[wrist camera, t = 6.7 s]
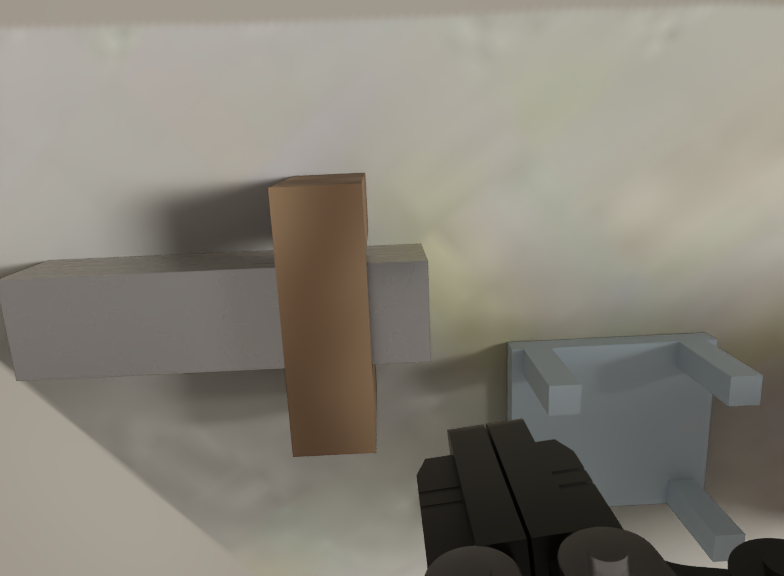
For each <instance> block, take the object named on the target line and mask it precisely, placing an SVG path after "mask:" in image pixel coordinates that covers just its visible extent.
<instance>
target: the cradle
mask: <svg viewBox="0 0 784 576" xmlns="http://www.w3.org/2000/svg"><path fill="white" fill-rule="evenodd" d="M717 343H718V340H717V339H716V338H714V337H712V336H711V335H709V334H707V333H686V334H666V335H646V336H625V337H605V338H585V339H564V340H544V341H524V342H508V354H507V421H508V420H515V419H521V418H522V419H523V420H524V421H525V423H526V425H527V427H528V429H529V431H530V433H531V435H532V437H533V439H534V440H535V442H539V441H545V440H552V439H555V440H557V441H558V442H560V443H562V444H563V445H565V446H567V447H568V448H570V449H571V450H573V451H574V452H575V454H576V455H577V457H578V458H579V460H580V462H581V463H582V465H583V466H584V470H586V471H587V473H588V474H589V476H590V477H591V479H592V481H593V484H595V485H596V487H597V488H598V490H599V492H600V493H601V495H602V496H603V498H604V499H605V501H606V503H607V504H608V506H627V505H646V504H665V503H667V504H668V506H669V507H670V508H671V509H672V511H673V512H674V513H675V514H676V516H677V517H678V518H679V519H680V521H681V522H682V523H683V524H684V526H685V527H686V528H687V530H688V531H689V532H690V533H691V535H692V536H693V537H694V538H695V540H696V541H697V542H698V543H699V545H700V546H701V547H702V549H703V550H704V551H705V552H706V554H707V555H708V556H709V557H710V559H711V560H712V561H713V562H717V561H728V558H729V555H730V553H731V552H732V550H733V549H734V548H735V547H736V546H738V545H740V544H742V543H744V542H745V533H744V532H743V531H742V530H741V529H740V528H739V527H738V526H737V525H736V524H735V523H734V522H733V520H732V519H731V518H730V517H729V516H728V515H727V514H726V513H725V512H724V511H723V510H722V509H721V508H720V506H719V505H718V504H717V503H716V502H715V501H714V500H713V499H712V498H711V497H710V496H709V495H708V494H707V492H706V491H705V490H704V484H705V473H706V462H707V451H708V440H709V429H710V419H711V408H712V397H713V395H714V396H715V397H716V398H718V399H719V400H720V401H722V402H723V403H724V404H725V405H727V406H728V407H732V406H751V405H760V400H761V391H762V382H763V375H762V374H760V373H759V372H757V371H755V370H754V369H752V368H751V367H749V366H747V365H746V364H744V363H742V362H741V361H739V360H738V359H736V358H734V357H733V356H731V355H729V354H728V353H726V352H725V351H723V350H721V349H720V348H718V347H717Z"/></svg>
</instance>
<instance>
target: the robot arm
mask: <svg viewBox="0 0 784 576" xmlns="http://www.w3.org/2000/svg"><path fill="white" fill-rule="evenodd" d="M447 432H448V441H449V448H450V455H449V456H442V457H435V458H429V459H425V461H424V463H423V464H422V466H421V468H420V470H419V472H418V474H417V483H418V491H419V500H420V507H421V516H422V524H423V533H424V541H425V549H426V557H427V571H426V574H425V576H784V539H776V538H762V539H754V540H749V541H747V542H744V543H742V544H740V545H738V546H736V547H735V548H734V549H733V550H732V552H731V553H730V555H729V558H728V569H719V568H707V567H696V566H687V565H680V564H676V563H671V562H668V561H665V560H664V559H663V558H662V556H661V555H660V554H659V553H658V551H657V550H656V549H655V548H654V547H653V546H652V545H651V544H650V543H649V542H648V541H646V540H645V539H644V538H642V537H640V536H639V535H637V534H634V533H632V532H630V531H626V530H624V529H623V528H622V526H621V525H620V523H619V522H618V520H617V518H616V517H615V515H614V514H613V512H612V511H611V509H610V507H609V506H608V504H607V503H606V501H605V499H604V498H603V496H602V495H601V493H600V492H599V490H598V488H597V487H596V485H595V484H593V481H592V479H591V477H590V476H589V474H588V473H587V471H586V470H584V466H583V465H582V463H581V462H580V460H579V458H578V457H577V455H576V454H575V452H574V451H573V450H571V449H570V448H568V447H567V446H565V445H563V444H562V443H560V442H558V441H557V440H555V439H552V440H545V441H539V442H535V440H534V439H533V437H532V435H531V433H530V431H529V429H528V427H527V425H526V423H525V421H524V420H523V419H522V418H521V419H515V420H508V421H502V422H495V423H489V424H486V429H485V427H484V425H476V426H470V427H463V428H457V429H450V430H447Z"/></svg>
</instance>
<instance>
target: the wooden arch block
mask: <svg viewBox="0 0 784 576" xmlns="http://www.w3.org/2000/svg"><path fill="white" fill-rule="evenodd" d="M268 194H269V205H270V215H271V226H272V237H273V248H274V258H275V269H276V280H277V291H278V301H279V312H280V323H281V334H282V344H283V355H284V366H285V377H286V387H287V398H288V409H289V419H290V430H291V441H292V452H293V457H301V456H320V455H340V454H359V453H376V410H377V384H376V365H375V364H372V352H371V334H370V316H369V298H368V280H367V262H366V246H367V236H368V217H367V199H366V180H365V173H350V174H328V175H307V176H293V177H290V178H288V179H286V180H284V181H281V182H279V183H277V184H275V185H273V186H270V187H268Z"/></svg>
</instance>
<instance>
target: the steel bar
mask: <svg viewBox="0 0 784 576" xmlns="http://www.w3.org/2000/svg"><path fill="white" fill-rule="evenodd" d="M366 262H367V280H368V298H369V316H370V334H371V352H372V364H388V363H409V362H430V361H431V353H430V316H429V279H428V259H427V257H426V255H425V252H424V250H423V247H422V245H421V244H399V245H377V246H366ZM0 304H1V309H2V314H3V318H4V323H5V328H6V333H7V338H8V342H9V347H10V352H11V357H12V361H13V366H14V371H15V376H16V381H28V380H49V379H70V378H92V377H113V376H134V375H155V374H176V373H197V372H219V371H240V370H261V369H282V368H285V366H284V355H283V344H282V334H281V323H280V312H279V301H278V291H277V280H276V269H275V258H274V250H265V251H243V252H220V253H198V254H176V255H153V256H131V257H108V258H86V259H64V260H48V261H45V262H43V263H40V264H37V265H35V266H32V267H29V268H27V269H24V270H21V271H19V272H16V273H13V274H11V275H8V276H5V277H3V278H0Z"/></svg>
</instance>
